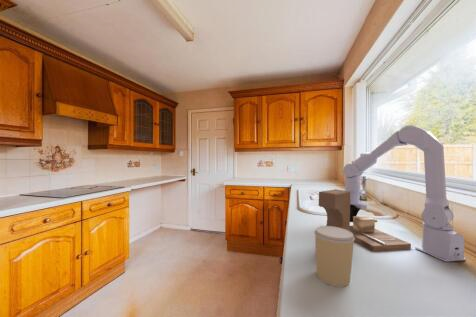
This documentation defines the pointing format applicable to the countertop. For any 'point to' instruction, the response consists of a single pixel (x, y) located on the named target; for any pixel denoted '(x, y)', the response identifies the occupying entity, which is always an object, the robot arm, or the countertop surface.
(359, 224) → the beige peg block
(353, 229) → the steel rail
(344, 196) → the decorative block
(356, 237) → the walnut board
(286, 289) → the countertop surface
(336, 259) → the coffee cup
